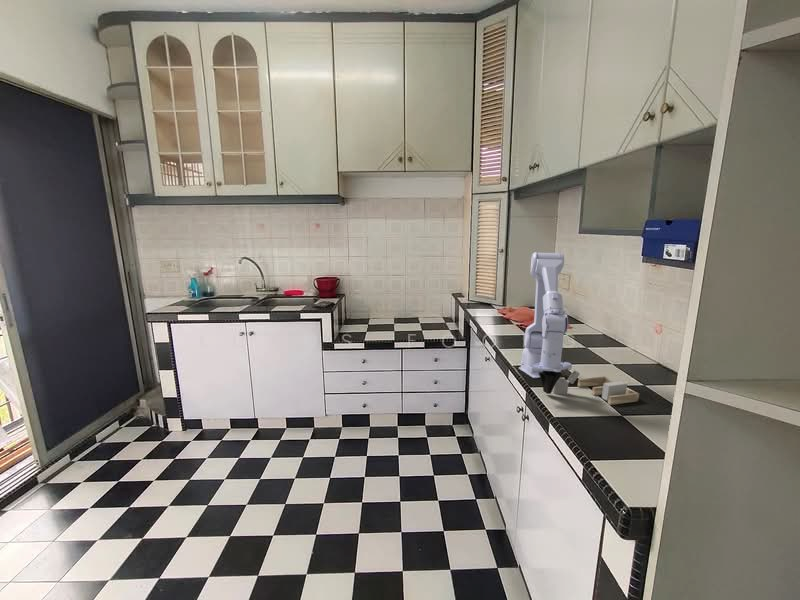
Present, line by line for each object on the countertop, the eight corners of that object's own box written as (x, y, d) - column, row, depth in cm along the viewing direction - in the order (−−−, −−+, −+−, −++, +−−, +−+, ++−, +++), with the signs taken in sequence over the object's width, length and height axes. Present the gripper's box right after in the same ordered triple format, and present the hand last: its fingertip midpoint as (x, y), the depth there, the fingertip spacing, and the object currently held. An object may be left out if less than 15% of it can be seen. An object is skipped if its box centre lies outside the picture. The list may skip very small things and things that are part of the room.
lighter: (553, 393, 112) (556, 370, 110) (552, 391, 113) (554, 368, 112) (577, 395, 111) (580, 372, 109) (575, 393, 112) (578, 370, 111)
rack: (577, 386, 117) (578, 379, 117) (603, 383, 120) (604, 376, 120) (609, 405, 105) (610, 397, 104) (637, 401, 108) (639, 393, 107)
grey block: (601, 397, 109) (603, 383, 108) (619, 395, 111) (621, 381, 110) (606, 400, 108) (609, 385, 107) (624, 398, 109) (627, 383, 108)
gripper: (539, 358, 102) (535, 400, 104) (580, 354, 105) (575, 395, 108) (525, 350, 108) (521, 390, 111) (564, 346, 112) (560, 385, 115)
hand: (547, 392), depth 110 cm, fingers closed
